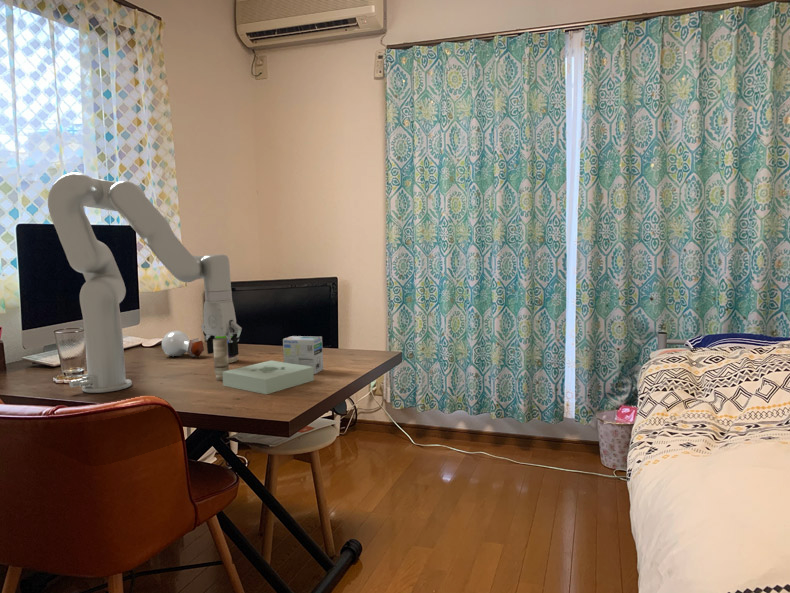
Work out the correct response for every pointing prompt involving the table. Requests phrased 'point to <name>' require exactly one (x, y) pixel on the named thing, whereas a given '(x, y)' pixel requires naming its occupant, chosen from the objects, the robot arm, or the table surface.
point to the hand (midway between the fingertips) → (223, 354)
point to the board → (268, 376)
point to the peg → (220, 357)
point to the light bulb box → (304, 351)
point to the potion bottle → (181, 344)
